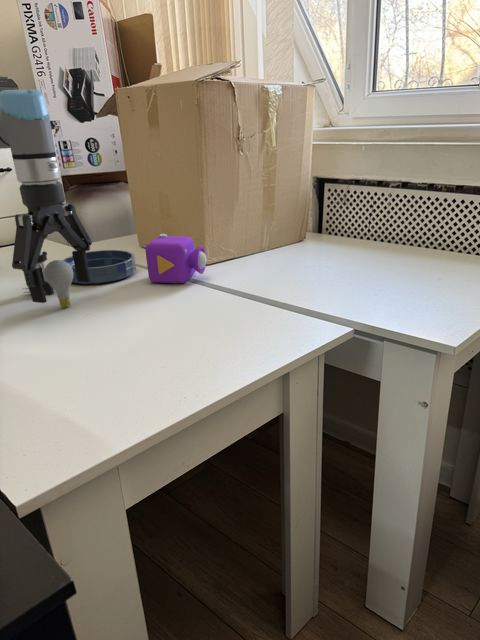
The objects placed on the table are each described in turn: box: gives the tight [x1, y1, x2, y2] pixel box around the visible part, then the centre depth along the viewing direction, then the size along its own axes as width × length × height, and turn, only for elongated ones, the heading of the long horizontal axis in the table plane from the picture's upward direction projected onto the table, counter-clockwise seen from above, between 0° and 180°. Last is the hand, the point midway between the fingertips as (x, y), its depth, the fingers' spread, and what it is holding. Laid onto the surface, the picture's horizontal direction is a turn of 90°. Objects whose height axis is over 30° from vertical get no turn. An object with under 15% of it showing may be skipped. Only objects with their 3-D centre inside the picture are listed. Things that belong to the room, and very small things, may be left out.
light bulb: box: [44, 259, 73, 309], centre depth 103 cm, size 6×6×10 cm
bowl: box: [61, 249, 137, 285], centre depth 125 cm, size 17×17×4 cm
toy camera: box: [145, 233, 208, 284], centre depth 119 cm, size 11×14×10 cm
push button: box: [21, 248, 55, 296], centre depth 112 cm, size 7×5×10 cm
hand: (63, 291), depth 104 cm, fingers open, 13 cm apart
